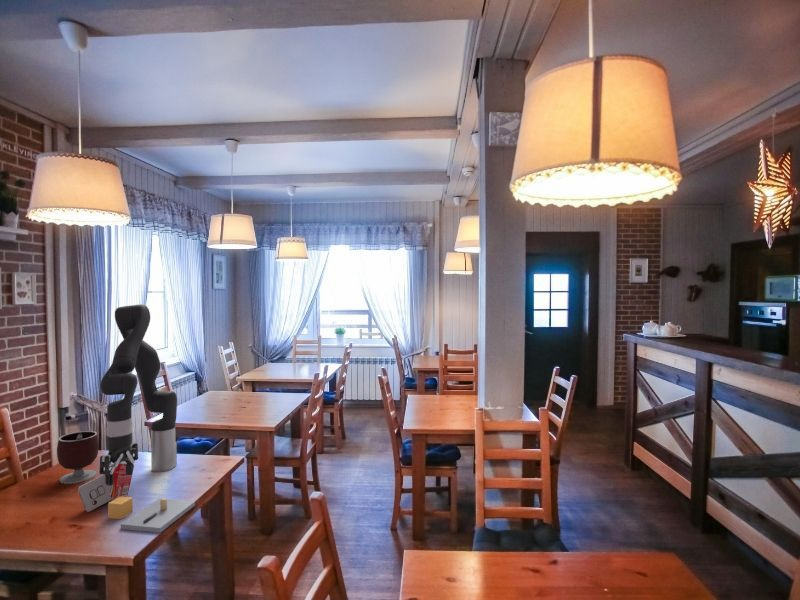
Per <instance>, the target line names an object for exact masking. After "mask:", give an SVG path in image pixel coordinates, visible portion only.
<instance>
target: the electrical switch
mask: <svg viewBox="0 0 800 600" xmlns="http://www.w3.org/2000/svg"><path fill="white" fill-rule="evenodd" d="M77 492H78V494H79V496H80V497H79V498H80V500H81V502H82V505H83V506H84V509H85V511H86V512H88V513H90V512H91V511H94V510H95V509H97V508H99V507H100V506H102V505H104V504H106V503H109V502H111V501H113V500H112V499H111V496H110V485H106V483H105V474H101V475H100V476H98V477H95V478H94V479H91V480H89V481H87V482H85V483H83V484H82V485H80V486H78V488H77Z"/></svg>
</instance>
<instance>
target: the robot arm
mask: <svg viewBox="0 0 800 600" xmlns="http://www.w3.org/2000/svg"><path fill="white" fill-rule="evenodd" d="M114 320H115V324H116V326H117V328H118V330H119V332H120V335H121V336H122V338H123V340H122V341H121V342H120V343H119V344H118V346H117V347H116V349H115V351H114V354H113V359H112V362H111V365H110V366H109V368H108V369H107V371H106V372H105V374H104V375H103V377H102V379H101V381H100V384H99V386H100V387H99V389H100V391H101V393H102V394H103V395H106V396H117V395H124V396H123V398H122V399H119V400H115V401H112V402H110V403H108V405H107V409H106V410H107V411H106V414H107V416H106V417H107V419H106V430H105V431H106V432H105V434H106V441H105V443H106V449H108V453H107V454H106V455H100V457H99V472H98V473H99V475H104V474H105V483H106V485H110V486H111V485H113V484H114V474H113V472H114V470H115V468H116V467H117V466H118V464H119V463H121V462H122V461H125V462H126V463H127V464H126V475H132V476H133V474H134V469H133V464H134V463H135V461H137V460H139V446H138V443H136V442H135V443H134V442H133V421H132V420H133V418H132V414H133V413H132V410H133V409H132V406H133V405H132V404H133V399H134V395H135V392H136V390H137V386H138V383H140V386H141V389H142V393H143V397H144V399H143V400H144V404H145V406H146V408H147V410H148V411H149V412H150V413H154V414H157V413H158V414H159V413H161V414H162V417H161V418H160V419H156V420H154V421H153V422H151V424H150V447H151V448H150V450H151V451H150V452H151V454H150V456H151V465H150V466H151V468H150V470H151V471H152V472H155V473H156V472H157V473H159V472H166V471H170V470H173V469H175V467H176V465H177V464H178V461H177V459H178V453H177V452H178V450H177V449H178V446H177V442H176V422H177V414H178V413H177V412H178V411H177V410H178V397H177V394H176V392H175V391H173V390H159V389H158V388H157V386H156V380H157V378H158V375H159V374H160V372H161V367H162V365H161V364H162V363H161V360H160V358H159V354H158V352H157V350H156V349H155V347H153V346H152V345H150V344H149V343H148V342H147V341H145V340H144V338H145V335H146V333H147V331H148V328H149V326H150V322H151V312H150V308H148V305H145V304H143V303H142V304H140V303H139V304H134V305H133V304H132V305H124V306H123V305H122V306H119V307H117V308H115V311H114ZM134 370H135V372H136V374H137V376H136V375H135V374H134V373H132V372H133V371H134ZM138 381H139V382H138Z"/></svg>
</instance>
